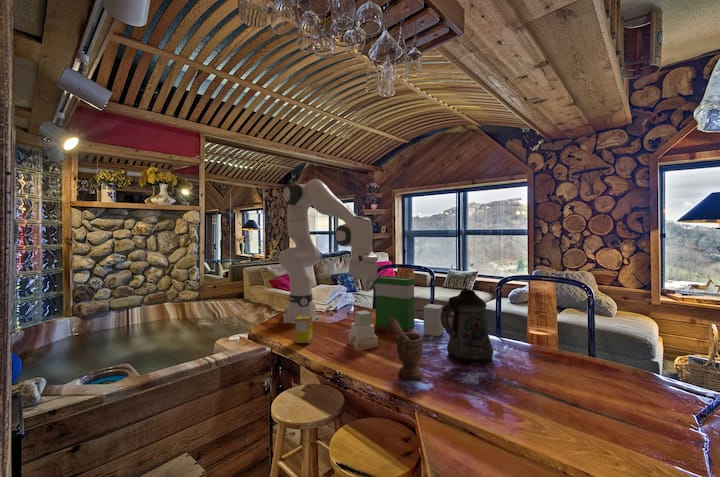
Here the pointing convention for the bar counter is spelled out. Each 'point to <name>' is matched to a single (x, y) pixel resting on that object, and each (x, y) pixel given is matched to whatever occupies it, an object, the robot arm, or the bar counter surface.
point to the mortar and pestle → (408, 351)
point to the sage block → (362, 318)
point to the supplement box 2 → (433, 320)
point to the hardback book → (395, 301)
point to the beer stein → (467, 329)
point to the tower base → (363, 342)
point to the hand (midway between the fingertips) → (361, 288)
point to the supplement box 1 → (303, 329)
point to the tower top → (362, 331)
